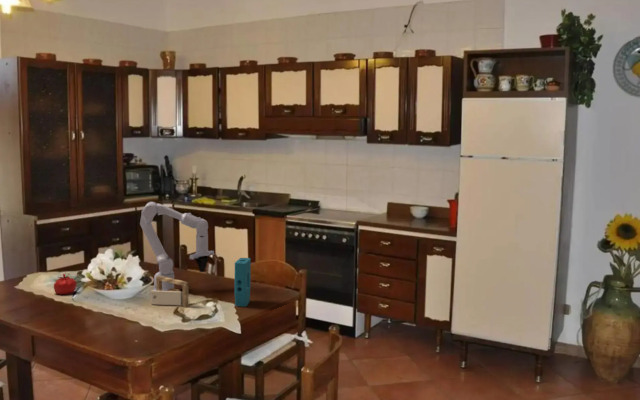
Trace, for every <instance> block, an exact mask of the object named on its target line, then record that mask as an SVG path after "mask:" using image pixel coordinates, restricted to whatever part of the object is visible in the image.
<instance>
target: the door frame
mask: <svg viewBox="0 0 640 400" xmlns="http://www.w3.org/2000/svg"><path fill="white" fill-rule="evenodd" d="M162 281H165V282H169V283H173V284H174V285H177V286H182V292H183V305H182V307H183V308H187V307H189V281H185V280H181V279H176V278H174V279H172V278H168V277H163V276H156V291H162Z"/></svg>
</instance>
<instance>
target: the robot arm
mask: <svg viewBox="0 0 640 400" xmlns="http://www.w3.org/2000/svg"><path fill="white" fill-rule="evenodd" d="M156 215H157V216H160V215H162V216H163V215H166V216H169V217H171V218H174V219H177V220H179V221H180V224H181V225H185V226H186V227H189V228H191V229H195V231H196V234H195V252H194V253H192V254H189V260H195V262H196V264H197V267H198V270H199V273H200V272H201V273H204V272H205V271H206V267H207V264H208V262H209V260H210V256H214V255H215V251H214V250H209V234H208V233H209V231H208V229H209V223H208V221H207V219H204V218H201V217H200V216H198V217H197V216H196V215H193V214H192V213H191V212H184V213H182V212H179V211H177V210H175V209H173V208H171V207H168V206H167V205H163V204H161V203H157V202H155V201H148V202H147V203H146V204H145V206H144V207H143V208H142V210H141V216H140V222H139V225H140V227H141V230H142V231H143V234H144V236H145V237H146V240H147V241H148V244H149V246H150V247H151V248H150V249H152V251H153V254H154V255H155V257H156V261H157V264H158V269H159V271H158V272H156V273H155V274H154V276H153V278H154V279H153V282H154V283H153V288H154V289H152V290H153V291H156V276H163V277H168V278H172V279H175V271H173V270H174V269H173V268H174V260H173V259H172V258H171V257H169V255H168V254H167V252H166V251H165V248H164V247H163V244H162V243H161V240H160V238H159V237H158V234H157V233H156V231H155V229H154V227H153V224H152V222H153V220H154V217H155V216H156ZM169 289H175V284H173V283H169V282H165V281H162V291H167V290H169Z"/></svg>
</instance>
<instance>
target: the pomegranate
mask: <svg viewBox="0 0 640 400" xmlns="http://www.w3.org/2000/svg"><path fill="white" fill-rule="evenodd" d="M77 285H78V283H77V281H76V280H75V279H74V278H73V277H72V276H70V275H69V276H67V277H66V274H65V273H63V274H62V277H61V276H59V277H57V280H56V281H55V282H54V284H53V290H54V292H55V294H56V295H71V294H73V293H75V291H76V290H77ZM74 290H75V291H74Z"/></svg>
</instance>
